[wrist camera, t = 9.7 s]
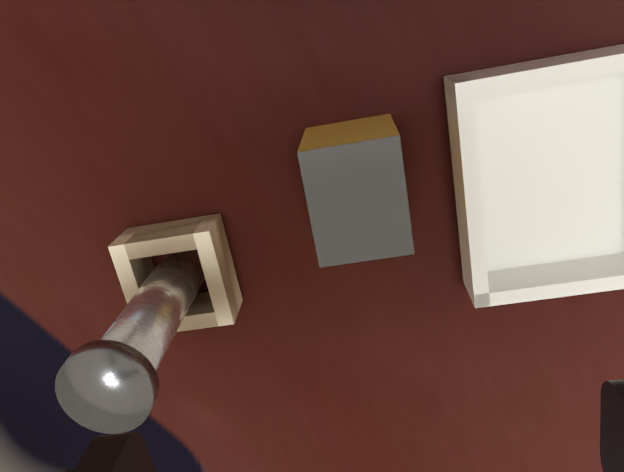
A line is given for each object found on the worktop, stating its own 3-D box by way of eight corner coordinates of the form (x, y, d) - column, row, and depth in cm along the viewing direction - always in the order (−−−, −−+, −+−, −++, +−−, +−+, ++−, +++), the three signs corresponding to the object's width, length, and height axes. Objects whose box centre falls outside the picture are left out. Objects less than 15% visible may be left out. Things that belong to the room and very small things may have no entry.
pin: (146, 240, 29) (40, 359, 19) (209, 230, 29) (135, 346, 19) (164, 297, 30) (74, 438, 20) (224, 288, 30) (163, 428, 20)
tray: (443, 76, 25) (454, 83, 23) (639, 40, 24) (675, 44, 22) (463, 281, 29) (475, 308, 26) (634, 258, 28) (663, 283, 25)
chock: (305, 127, 26) (297, 152, 22) (390, 113, 26) (399, 135, 21) (323, 225, 28) (319, 267, 24) (403, 213, 28) (414, 254, 23)
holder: (127, 228, 29) (107, 246, 26) (220, 213, 28) (209, 231, 26) (154, 312, 31) (138, 337, 28) (242, 300, 30) (234, 324, 28)
